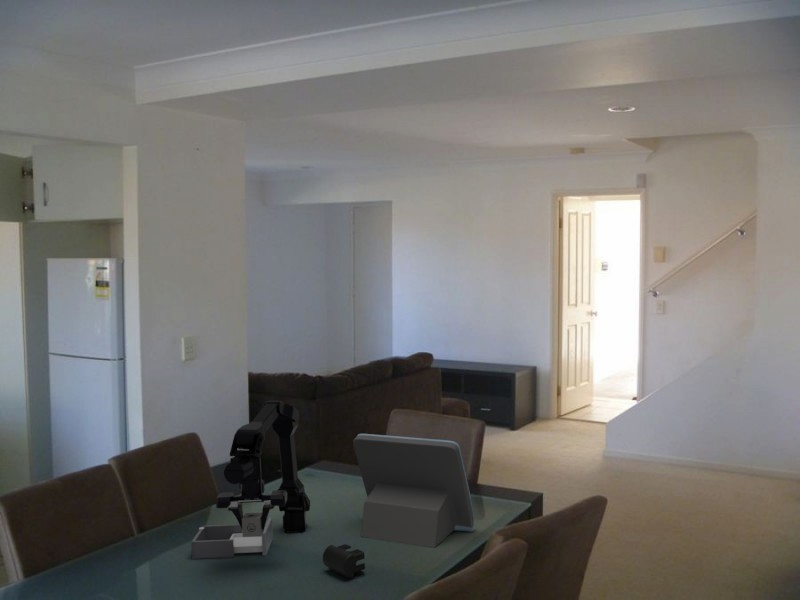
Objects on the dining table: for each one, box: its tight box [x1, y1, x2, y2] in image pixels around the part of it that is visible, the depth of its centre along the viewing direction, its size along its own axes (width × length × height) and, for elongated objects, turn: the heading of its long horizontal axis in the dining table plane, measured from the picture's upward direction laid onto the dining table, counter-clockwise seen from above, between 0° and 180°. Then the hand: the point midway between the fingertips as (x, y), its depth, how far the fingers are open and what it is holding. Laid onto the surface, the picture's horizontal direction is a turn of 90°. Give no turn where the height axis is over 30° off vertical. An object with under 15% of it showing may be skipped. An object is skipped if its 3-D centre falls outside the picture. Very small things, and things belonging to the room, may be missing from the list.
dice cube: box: [242, 512, 264, 537], centre depth 220 cm, size 5×5×5 cm
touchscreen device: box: [352, 433, 475, 549], centre depth 243 cm, size 35×20×30 cm, turn 62°
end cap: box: [322, 543, 366, 580], centre depth 213 cm, size 10×7×7 cm
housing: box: [190, 523, 242, 560], centre depth 235 cm, size 12×14×5 cm
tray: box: [229, 517, 274, 557], centre depth 235 cm, size 12×14×6 cm
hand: (253, 529), depth 220 cm, fingers closed on dice cube, 5 cm apart
